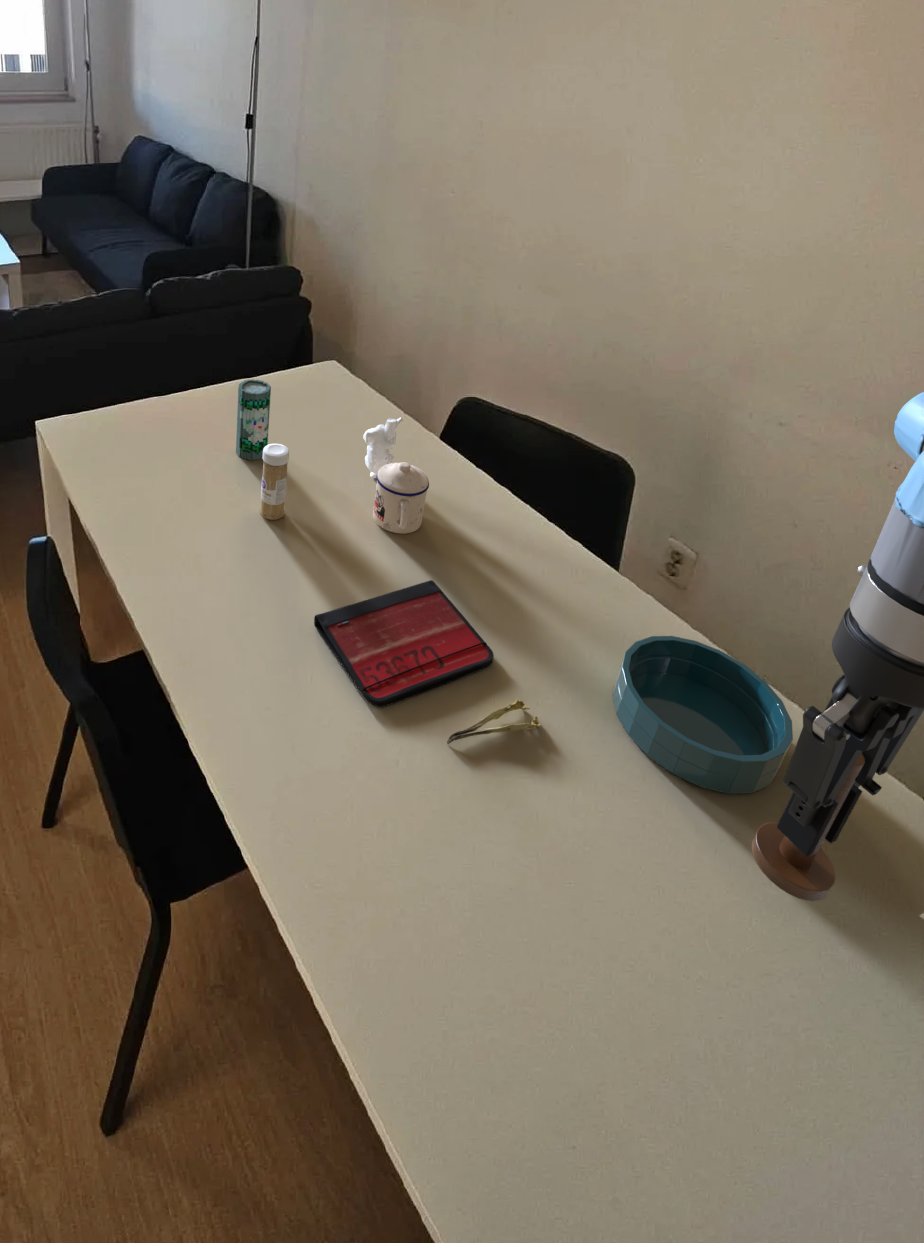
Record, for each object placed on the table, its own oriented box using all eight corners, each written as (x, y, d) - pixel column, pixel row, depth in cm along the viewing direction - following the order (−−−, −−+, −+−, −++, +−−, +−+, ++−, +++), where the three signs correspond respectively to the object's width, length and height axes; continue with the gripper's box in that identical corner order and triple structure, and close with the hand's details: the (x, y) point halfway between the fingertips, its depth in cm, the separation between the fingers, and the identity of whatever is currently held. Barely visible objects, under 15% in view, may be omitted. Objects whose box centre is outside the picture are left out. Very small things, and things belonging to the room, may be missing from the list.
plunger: (845, 886, 66) (910, 772, 60) (800, 912, 64) (862, 797, 58) (780, 823, 71) (833, 712, 65) (736, 845, 69) (787, 732, 63)
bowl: (811, 767, 91) (829, 733, 89) (703, 818, 85) (718, 783, 82) (681, 653, 107) (692, 622, 105) (581, 689, 101) (591, 656, 98)
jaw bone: (441, 736, 93) (444, 724, 93) (519, 706, 98) (523, 695, 98) (462, 764, 90) (465, 753, 89) (543, 732, 95) (546, 721, 94)
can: (243, 462, 148) (246, 395, 142) (232, 446, 153) (234, 382, 147) (271, 457, 150) (275, 391, 144) (259, 441, 155) (263, 377, 150)
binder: (314, 613, 108) (432, 577, 116) (312, 625, 109) (429, 588, 117) (373, 703, 95) (501, 656, 103) (371, 716, 96) (498, 668, 104)
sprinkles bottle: (254, 511, 134) (257, 447, 128) (273, 502, 136) (277, 439, 131) (270, 524, 131) (274, 459, 125) (290, 515, 133) (294, 451, 128)
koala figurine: (388, 460, 151) (395, 409, 146) (406, 479, 145) (414, 426, 140) (351, 467, 148) (357, 415, 143) (368, 486, 142) (374, 432, 137)
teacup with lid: (369, 501, 138) (376, 448, 133) (419, 506, 137) (428, 452, 132) (374, 544, 127) (381, 487, 122) (428, 549, 126) (437, 492, 121)
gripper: (914, 578, 63) (820, 768, 72) (789, 625, 57) (705, 824, 67) (1026, 643, 56) (907, 843, 66) (897, 703, 51) (788, 911, 60)
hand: (806, 833), depth 66 cm, fingers closed on plunger, 2 cm apart
